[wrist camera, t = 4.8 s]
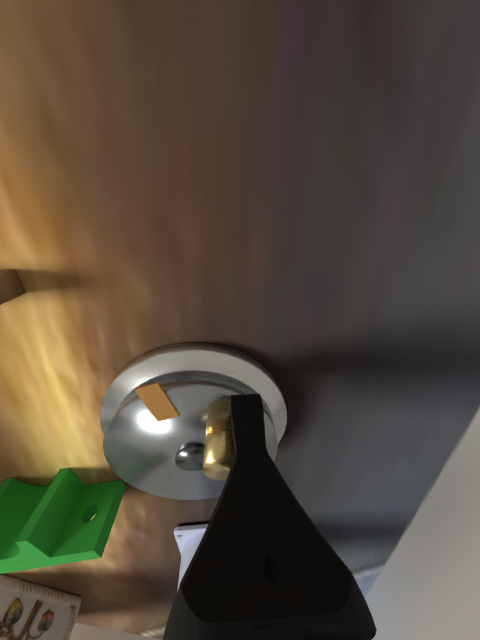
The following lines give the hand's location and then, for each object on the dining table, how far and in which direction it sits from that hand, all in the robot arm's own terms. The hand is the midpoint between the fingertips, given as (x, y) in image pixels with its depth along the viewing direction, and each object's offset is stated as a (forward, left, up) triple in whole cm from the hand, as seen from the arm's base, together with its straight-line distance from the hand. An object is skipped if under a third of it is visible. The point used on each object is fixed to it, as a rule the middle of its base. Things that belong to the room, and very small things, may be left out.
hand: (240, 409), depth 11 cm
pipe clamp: (-11, +16, -4) cm, 20 cm away
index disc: (-4, +3, -2) cm, 5 cm away
